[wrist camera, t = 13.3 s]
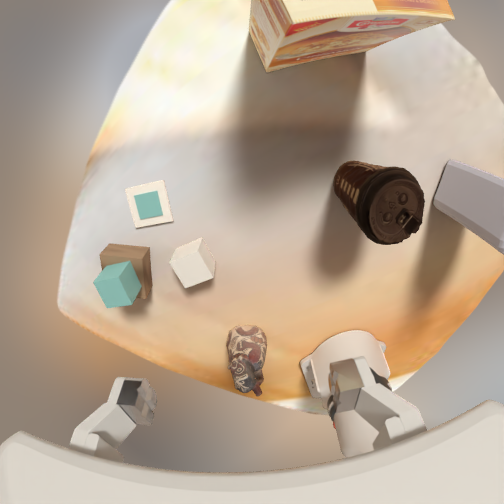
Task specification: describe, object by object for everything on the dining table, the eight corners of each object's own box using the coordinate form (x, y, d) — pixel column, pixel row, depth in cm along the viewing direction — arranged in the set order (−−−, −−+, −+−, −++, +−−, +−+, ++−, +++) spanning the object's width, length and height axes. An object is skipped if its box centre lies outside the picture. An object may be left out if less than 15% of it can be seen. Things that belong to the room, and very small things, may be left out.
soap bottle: (446, 155, 34) (570, 211, 11) (475, 177, 35) (580, 235, 13) (428, 204, 38) (540, 287, 15) (458, 220, 39) (554, 297, 17)
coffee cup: (382, 205, 38) (429, 242, 26) (332, 217, 39) (366, 261, 27) (375, 148, 34) (428, 166, 22) (320, 159, 35) (357, 180, 23)
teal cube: (141, 286, 39) (132, 304, 35) (117, 290, 39) (107, 308, 35) (130, 260, 37) (118, 277, 33) (106, 265, 37) (93, 282, 33)
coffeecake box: (266, 74, 29) (291, 25, 12) (246, 29, 26) (250, -49, 9) (368, 53, 27) (459, 21, 10) (349, 11, 24) (423, -45, 7)
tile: (173, 220, 38) (172, 221, 38) (136, 226, 38) (135, 228, 38) (164, 179, 35) (163, 180, 35) (126, 188, 36) (124, 189, 35)
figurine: (246, 317, 46) (247, 372, 36) (274, 337, 49) (280, 390, 38) (219, 338, 49) (214, 391, 38) (246, 356, 51) (248, 407, 40)
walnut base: (152, 284, 43) (146, 299, 40) (115, 279, 43) (106, 293, 39) (150, 246, 40) (141, 259, 37) (110, 242, 40) (99, 254, 36)
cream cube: (216, 261, 41) (213, 277, 37) (190, 271, 42) (185, 288, 38) (202, 236, 40) (198, 250, 36) (176, 248, 40) (169, 262, 36)
